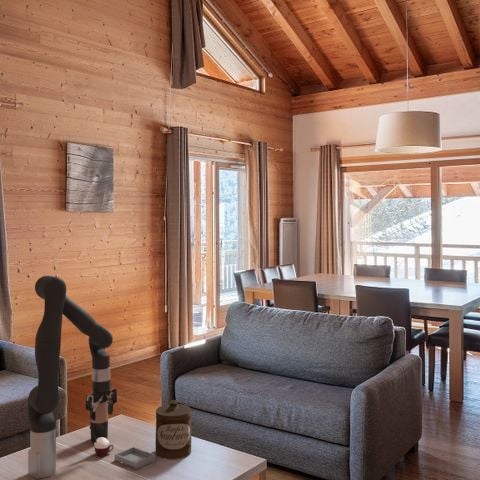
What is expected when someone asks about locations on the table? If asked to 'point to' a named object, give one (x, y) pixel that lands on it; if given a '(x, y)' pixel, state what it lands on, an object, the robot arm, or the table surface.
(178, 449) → the labeled brown tin
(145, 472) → the table surface
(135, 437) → the table surface
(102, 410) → the travel mug
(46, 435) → the robot arm
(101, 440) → the cocoa
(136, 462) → the tray
